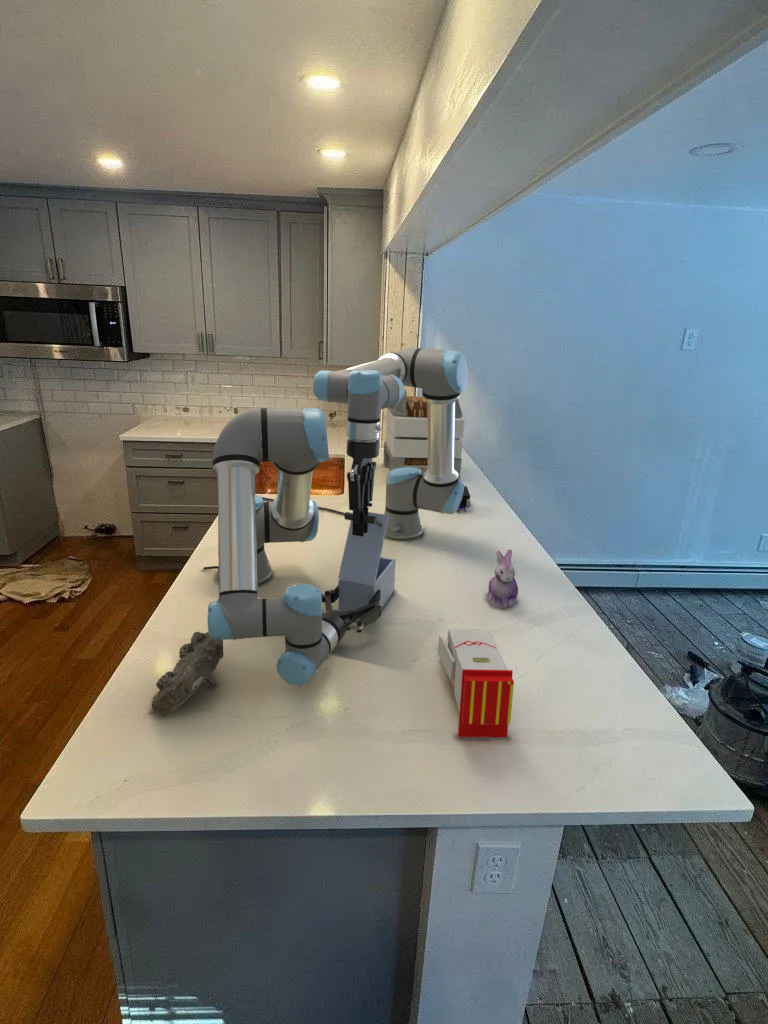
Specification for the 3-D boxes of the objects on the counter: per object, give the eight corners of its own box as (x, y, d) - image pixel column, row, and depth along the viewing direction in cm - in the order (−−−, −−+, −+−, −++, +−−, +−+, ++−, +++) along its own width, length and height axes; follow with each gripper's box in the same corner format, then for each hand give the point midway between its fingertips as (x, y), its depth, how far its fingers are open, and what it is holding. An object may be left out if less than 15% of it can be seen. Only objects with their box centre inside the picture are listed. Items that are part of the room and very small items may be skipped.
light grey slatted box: (382, 463, 289) (386, 382, 275) (445, 464, 293) (451, 384, 279) (390, 482, 257) (394, 392, 243) (460, 483, 261) (468, 394, 247)
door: (354, 510, 146) (343, 502, 139) (389, 515, 144) (380, 508, 136) (339, 578, 143) (327, 575, 136) (374, 585, 141) (365, 582, 133)
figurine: (500, 612, 150) (506, 561, 145) (477, 595, 159) (482, 546, 153) (527, 605, 154) (535, 555, 149) (504, 589, 163) (510, 541, 158)
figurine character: (470, 516, 223) (465, 500, 237) (473, 499, 220) (467, 484, 233) (453, 516, 223) (449, 500, 236) (455, 498, 220) (451, 483, 233)
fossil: (177, 634, 126) (224, 603, 121) (207, 662, 129) (255, 633, 124) (129, 707, 107) (182, 674, 102) (165, 739, 110) (219, 708, 105)
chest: (362, 584, 162) (363, 553, 159) (394, 590, 159) (395, 559, 156) (338, 613, 147) (338, 580, 143) (372, 620, 144) (374, 587, 140)
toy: (488, 613, 130) (523, 677, 101) (484, 667, 133) (517, 744, 104) (435, 612, 130) (455, 676, 101) (432, 666, 133) (451, 743, 103)
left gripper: (279, 638, 130) (321, 595, 150) (369, 659, 124) (400, 612, 144) (278, 609, 128) (321, 570, 148) (371, 630, 121) (402, 586, 141)
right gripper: (366, 447, 123) (363, 547, 131) (388, 435, 137) (384, 526, 145) (335, 443, 126) (333, 541, 133) (359, 431, 139) (357, 521, 147)
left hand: (360, 591), depth 146 cm, fingers closed on chest, 9 cm apart
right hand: (359, 533), depth 139 cm, fingers closed on door, 2 cm apart
